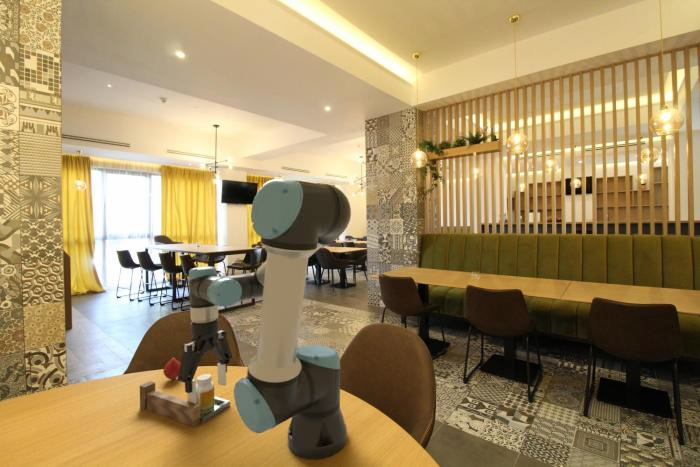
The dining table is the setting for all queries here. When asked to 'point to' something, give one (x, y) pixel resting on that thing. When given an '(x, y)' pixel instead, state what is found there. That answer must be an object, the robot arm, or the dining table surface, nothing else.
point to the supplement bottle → (205, 393)
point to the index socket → (215, 409)
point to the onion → (172, 369)
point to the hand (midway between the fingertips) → (207, 393)
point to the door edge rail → (168, 405)
